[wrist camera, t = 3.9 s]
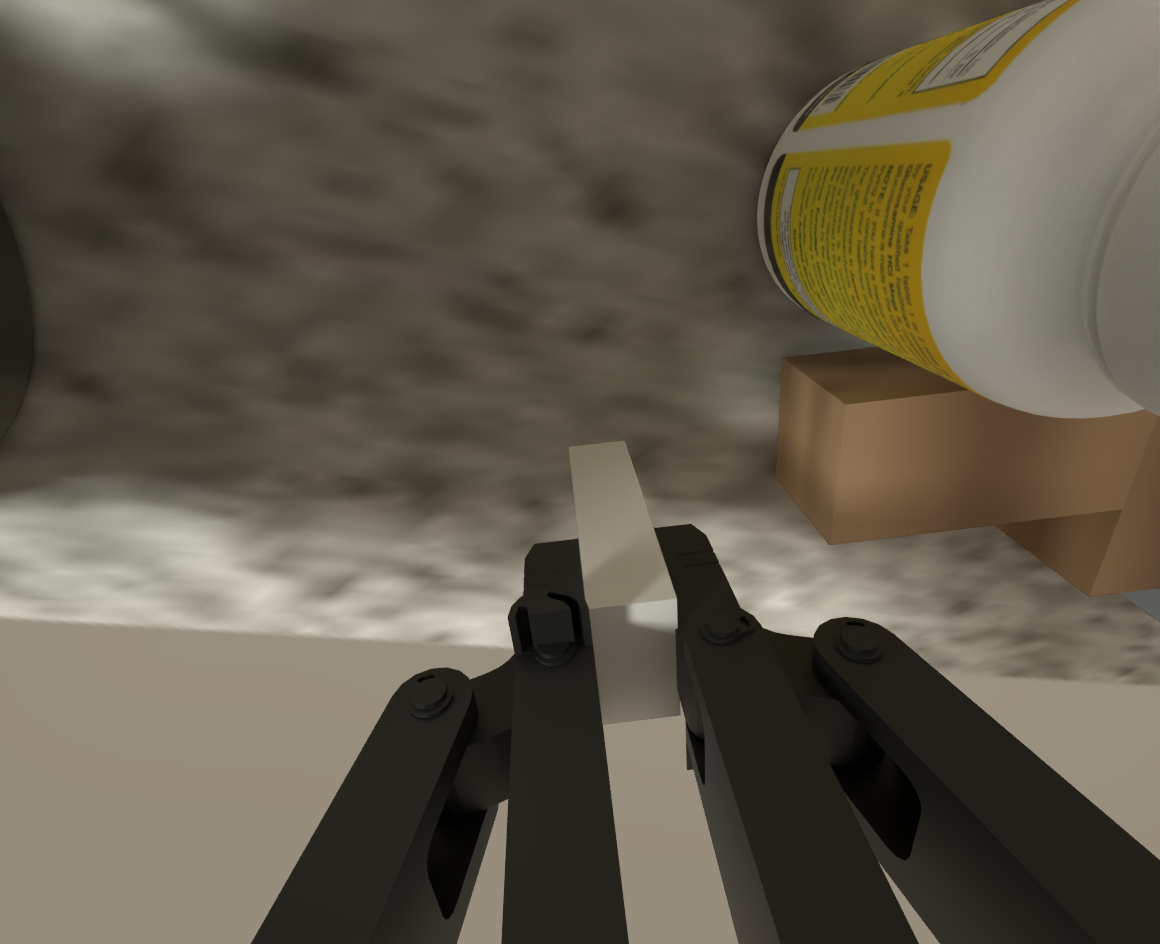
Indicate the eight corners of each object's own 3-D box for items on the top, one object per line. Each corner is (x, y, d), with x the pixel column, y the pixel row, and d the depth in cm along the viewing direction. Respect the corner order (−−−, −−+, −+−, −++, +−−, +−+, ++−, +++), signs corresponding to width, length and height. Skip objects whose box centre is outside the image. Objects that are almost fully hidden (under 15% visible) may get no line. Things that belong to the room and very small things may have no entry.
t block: (770, 551, 21) (819, 630, 17) (788, 250, 16) (861, 272, 12) (1104, 510, 21) (1222, 580, 17) (1216, 201, 16) (1409, 209, 13)
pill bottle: (886, 351, 17) (1340, 578, 8) (708, 264, 16) (986, 406, 6) (1033, 132, 15) (1977, 48, 5) (839, 6, 14) (1643, -444, 4)
